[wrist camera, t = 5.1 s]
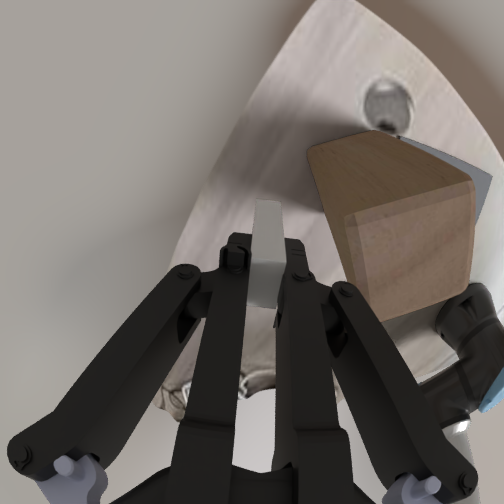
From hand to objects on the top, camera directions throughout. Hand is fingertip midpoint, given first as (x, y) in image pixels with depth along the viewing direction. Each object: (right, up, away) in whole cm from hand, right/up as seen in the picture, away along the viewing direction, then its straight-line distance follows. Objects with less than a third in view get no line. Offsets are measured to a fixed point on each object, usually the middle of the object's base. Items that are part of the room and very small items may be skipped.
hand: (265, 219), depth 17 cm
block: (+12, +8, +15) cm, 21 cm away
